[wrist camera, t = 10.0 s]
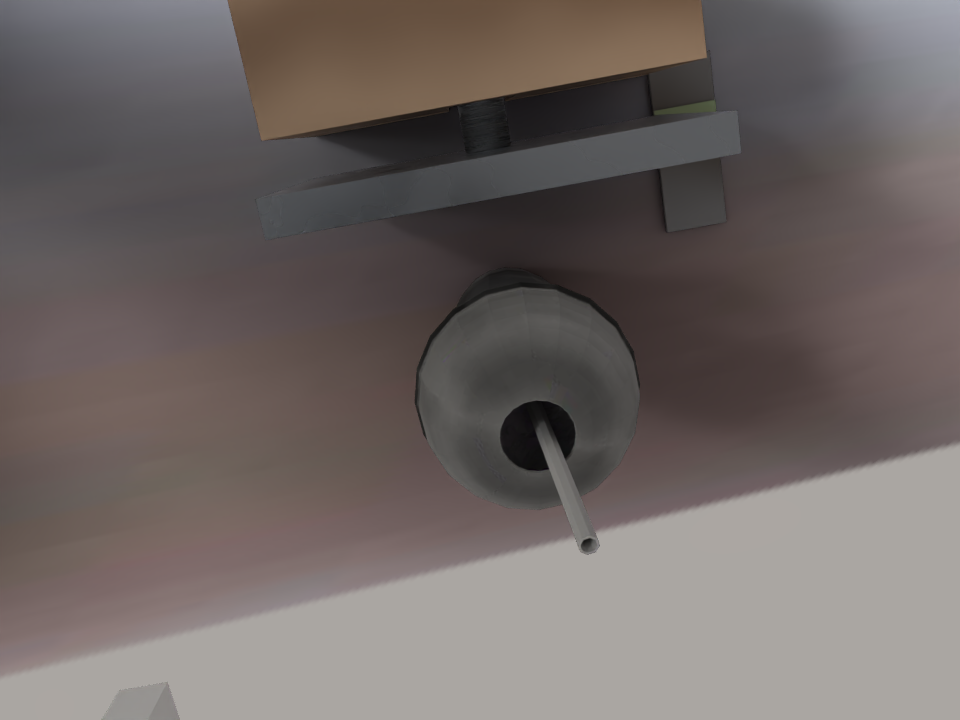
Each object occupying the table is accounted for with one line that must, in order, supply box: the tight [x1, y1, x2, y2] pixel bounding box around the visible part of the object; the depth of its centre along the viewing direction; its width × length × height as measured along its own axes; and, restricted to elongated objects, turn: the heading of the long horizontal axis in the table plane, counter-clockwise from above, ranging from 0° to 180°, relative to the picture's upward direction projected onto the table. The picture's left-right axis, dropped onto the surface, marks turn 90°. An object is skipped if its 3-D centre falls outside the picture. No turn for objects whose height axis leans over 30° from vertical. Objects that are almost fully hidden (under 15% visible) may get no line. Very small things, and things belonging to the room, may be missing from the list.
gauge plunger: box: [255, 97, 741, 240], centre depth 28 cm, size 10×16×10 cm, turn 100°
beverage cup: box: [415, 268, 640, 555], centre depth 28 cm, size 7×7×20 cm
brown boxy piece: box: [228, 0, 726, 233], centre depth 31 cm, size 12×17×10 cm
